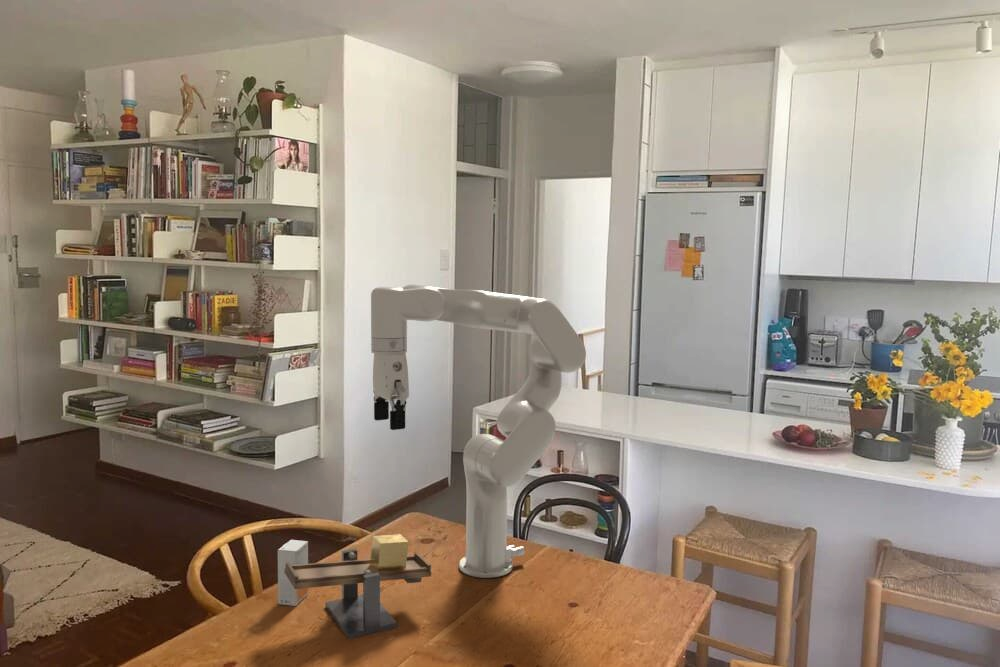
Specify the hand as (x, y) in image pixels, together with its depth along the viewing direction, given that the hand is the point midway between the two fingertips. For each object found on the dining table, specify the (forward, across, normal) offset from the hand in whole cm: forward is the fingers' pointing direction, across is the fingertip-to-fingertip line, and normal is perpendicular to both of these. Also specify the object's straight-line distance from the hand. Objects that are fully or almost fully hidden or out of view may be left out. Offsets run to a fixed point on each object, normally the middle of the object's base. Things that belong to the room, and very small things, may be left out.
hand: (389, 424), depth 168 cm
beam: (+29, -10, +10) cm, 33 cm away
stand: (+37, -10, +10) cm, 39 cm away
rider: (+27, -10, +4) cm, 29 cm away
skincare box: (+37, +4, +20) cm, 42 cm away
